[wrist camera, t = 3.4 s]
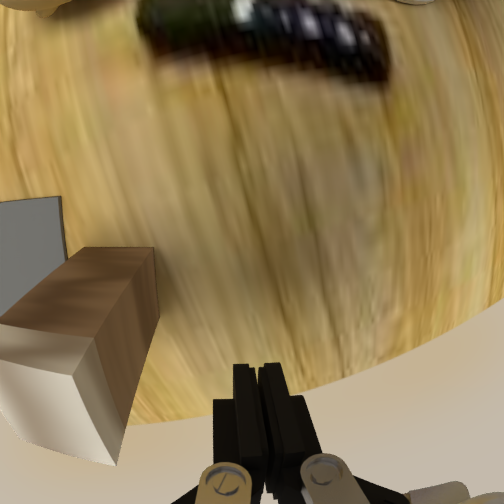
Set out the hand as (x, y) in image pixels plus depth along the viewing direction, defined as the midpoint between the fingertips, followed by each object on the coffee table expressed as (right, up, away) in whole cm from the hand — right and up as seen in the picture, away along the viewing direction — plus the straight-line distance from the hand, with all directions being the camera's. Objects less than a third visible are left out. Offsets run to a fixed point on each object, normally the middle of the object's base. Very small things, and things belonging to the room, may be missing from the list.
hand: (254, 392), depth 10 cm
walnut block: (-9, +3, +8) cm, 13 cm away
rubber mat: (-20, +3, +7) cm, 21 cm away
